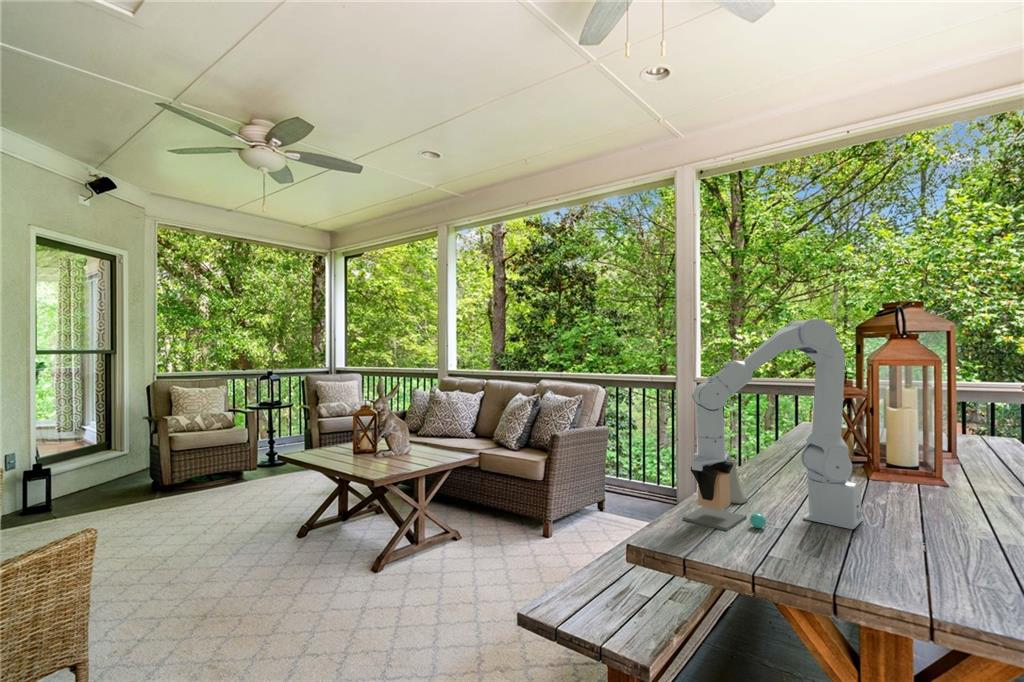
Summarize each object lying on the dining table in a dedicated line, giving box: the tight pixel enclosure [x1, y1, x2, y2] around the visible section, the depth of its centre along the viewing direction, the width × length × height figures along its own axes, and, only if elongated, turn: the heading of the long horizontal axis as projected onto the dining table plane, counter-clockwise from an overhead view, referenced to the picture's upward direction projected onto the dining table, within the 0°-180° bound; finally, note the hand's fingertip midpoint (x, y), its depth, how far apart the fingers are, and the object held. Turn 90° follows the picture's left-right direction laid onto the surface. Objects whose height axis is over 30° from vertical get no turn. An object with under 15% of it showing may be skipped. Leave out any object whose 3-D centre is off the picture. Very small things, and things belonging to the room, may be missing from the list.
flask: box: [726, 458, 749, 504], centre depth 122 cm, size 7×7×10 cm
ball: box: [749, 512, 767, 529], centre depth 103 cm, size 3×3×3 cm
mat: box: [682, 506, 748, 532], centre depth 109 cm, size 10×10×1 cm
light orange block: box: [697, 472, 731, 510], centre depth 109 cm, size 5×5×7 cm
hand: (713, 496), depth 109 cm, fingers closed on light orange block, 5 cm apart
